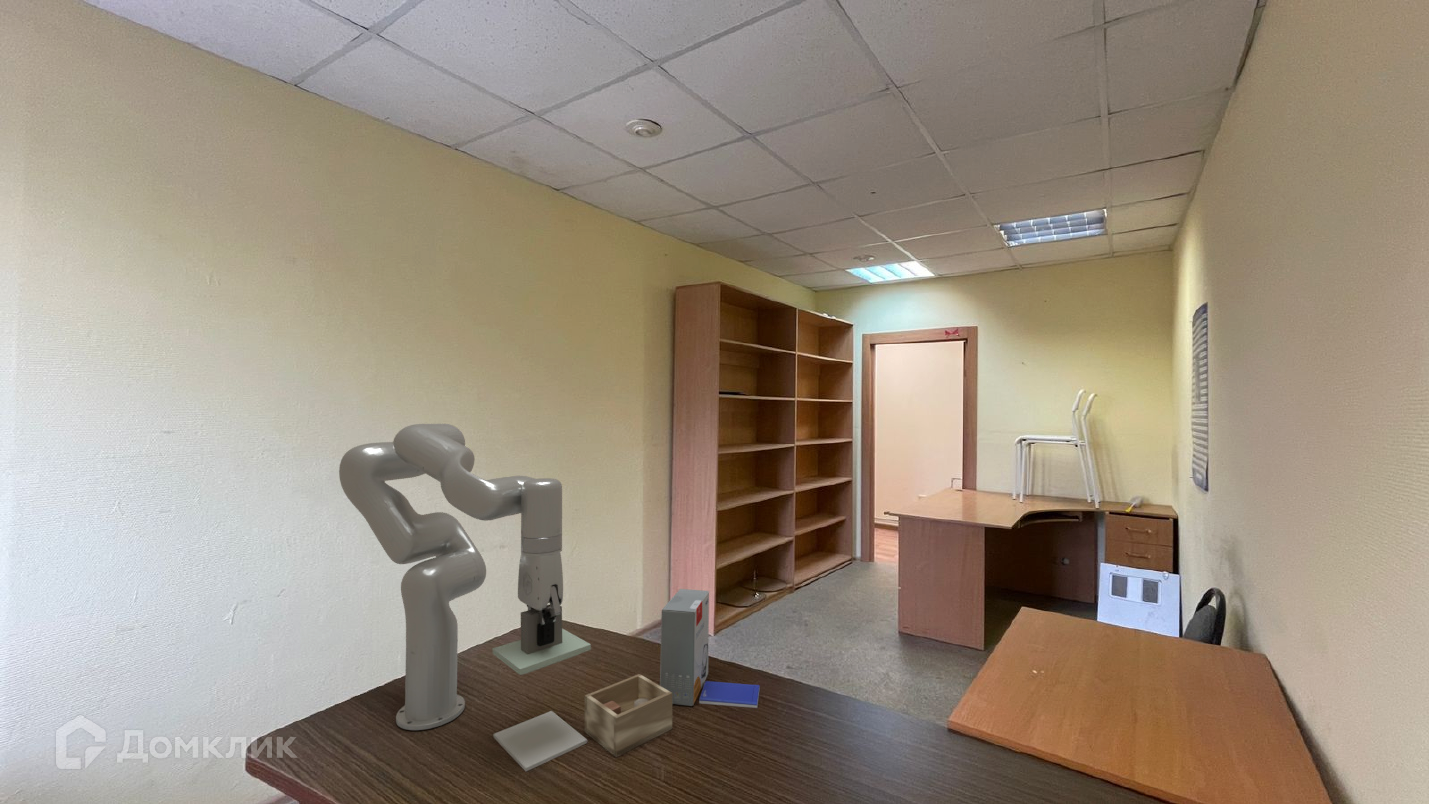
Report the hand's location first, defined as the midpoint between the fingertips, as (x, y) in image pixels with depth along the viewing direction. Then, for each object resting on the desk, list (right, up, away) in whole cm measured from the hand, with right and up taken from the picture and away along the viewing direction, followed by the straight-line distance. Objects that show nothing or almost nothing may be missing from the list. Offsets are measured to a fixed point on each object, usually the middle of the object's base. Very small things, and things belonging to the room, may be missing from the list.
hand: (541, 640), depth 104 cm
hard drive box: (+26, -19, +19) cm, 38 cm away
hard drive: (+36, -20, +16) cm, 45 cm away
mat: (0, -19, 0) cm, 19 cm away
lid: (0, -3, 0) cm, 3 cm away
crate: (+16, -19, +3) cm, 25 cm away
